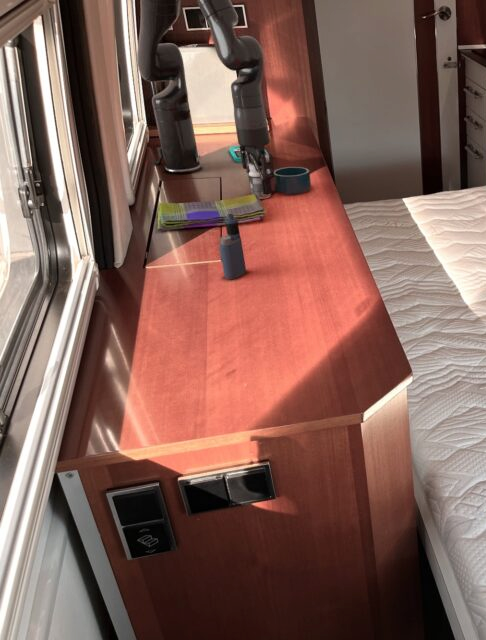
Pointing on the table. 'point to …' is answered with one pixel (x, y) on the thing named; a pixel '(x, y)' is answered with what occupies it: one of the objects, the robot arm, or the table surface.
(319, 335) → the table surface
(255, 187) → the pill bottle
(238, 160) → the handheld game console
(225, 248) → the vaping device
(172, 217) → the dish towel
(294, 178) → the bowl
